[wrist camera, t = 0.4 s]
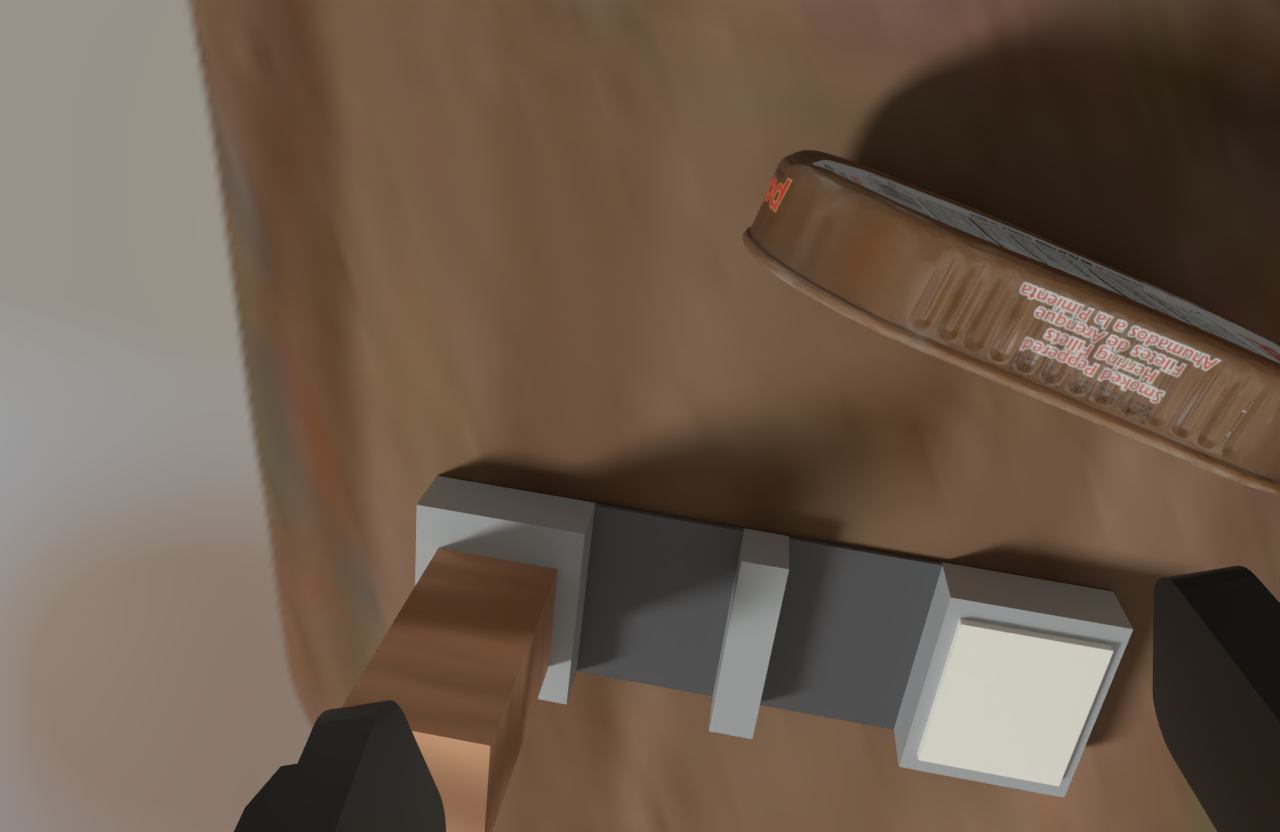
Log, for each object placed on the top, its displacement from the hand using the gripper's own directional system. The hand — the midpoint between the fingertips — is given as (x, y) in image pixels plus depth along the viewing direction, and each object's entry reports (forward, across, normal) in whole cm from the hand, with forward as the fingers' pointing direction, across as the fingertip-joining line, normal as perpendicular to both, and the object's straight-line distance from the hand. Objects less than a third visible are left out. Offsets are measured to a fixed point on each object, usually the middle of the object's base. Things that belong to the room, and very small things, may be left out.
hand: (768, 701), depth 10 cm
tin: (+19, -8, +3) cm, 21 cm away
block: (+18, +9, +11) cm, 23 cm away
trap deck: (+19, +1, +14) cm, 24 cm away
